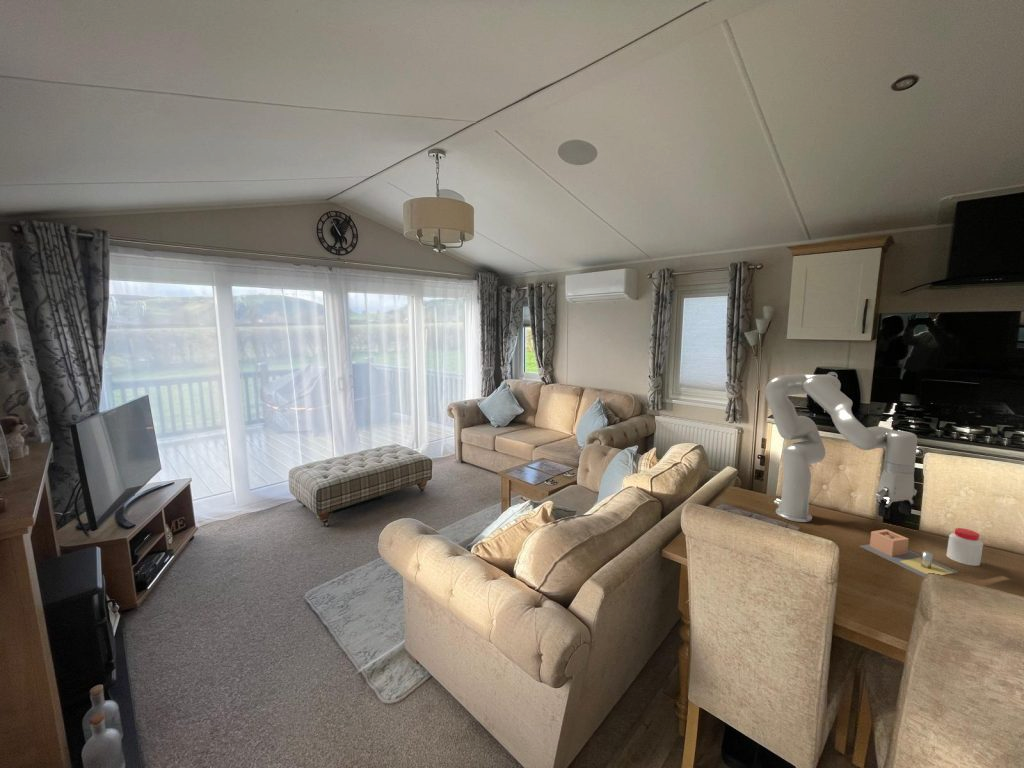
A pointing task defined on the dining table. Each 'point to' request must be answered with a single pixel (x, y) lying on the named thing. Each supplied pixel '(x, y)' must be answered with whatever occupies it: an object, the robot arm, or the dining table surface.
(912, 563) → the post board
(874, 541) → the tan boxy piece
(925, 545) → the dining table surface
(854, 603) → the dining table surface
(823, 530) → the dining table surface
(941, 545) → the dining table surface
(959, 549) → the pill bottle
